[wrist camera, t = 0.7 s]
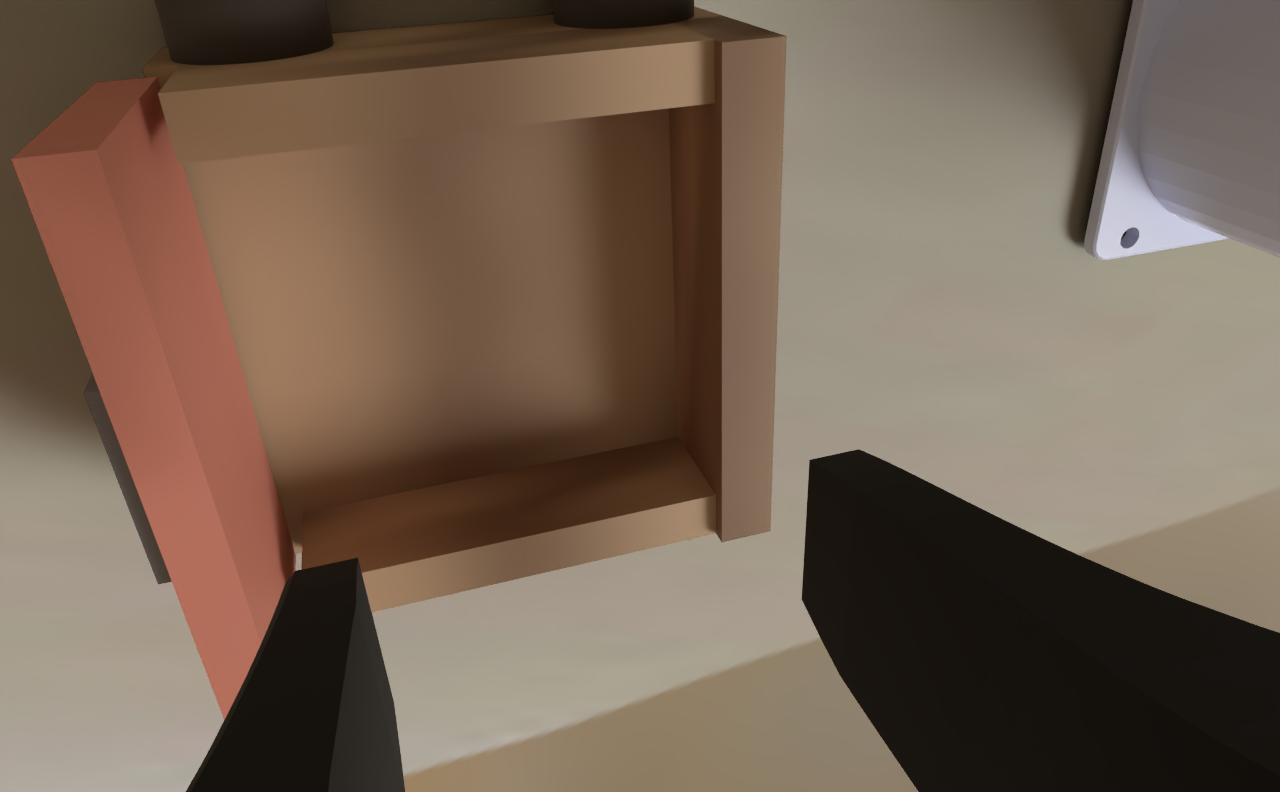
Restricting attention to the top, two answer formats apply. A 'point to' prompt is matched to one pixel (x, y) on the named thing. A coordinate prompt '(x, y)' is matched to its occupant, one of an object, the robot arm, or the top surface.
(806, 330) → the top surface
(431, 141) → the box
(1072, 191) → the top surface
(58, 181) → the panel
